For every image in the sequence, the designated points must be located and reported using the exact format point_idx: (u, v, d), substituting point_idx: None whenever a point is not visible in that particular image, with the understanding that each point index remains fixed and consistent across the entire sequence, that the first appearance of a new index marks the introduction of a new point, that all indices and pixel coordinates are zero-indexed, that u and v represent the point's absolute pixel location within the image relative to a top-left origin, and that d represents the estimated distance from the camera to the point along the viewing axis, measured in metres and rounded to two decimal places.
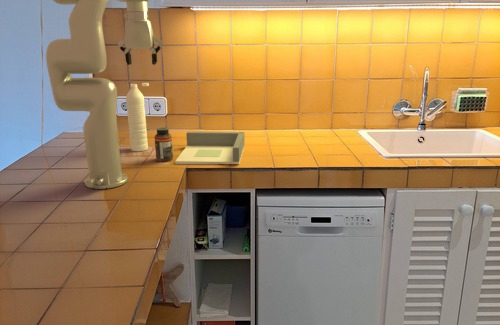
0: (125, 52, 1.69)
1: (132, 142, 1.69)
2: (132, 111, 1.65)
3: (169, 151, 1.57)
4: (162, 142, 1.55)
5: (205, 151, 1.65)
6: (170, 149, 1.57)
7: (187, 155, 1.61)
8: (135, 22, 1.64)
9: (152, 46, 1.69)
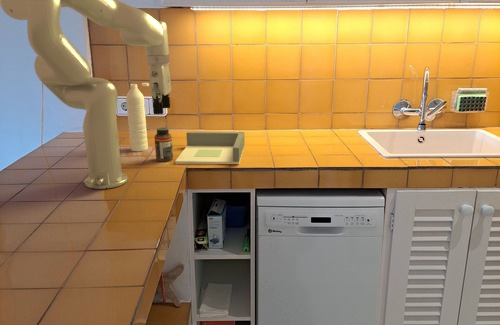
0: (160, 100, 1.48)
1: (132, 142, 1.69)
2: (132, 111, 1.65)
3: (169, 151, 1.57)
4: (162, 142, 1.55)
5: (205, 151, 1.65)
6: (170, 149, 1.57)
7: (187, 155, 1.61)
8: (166, 65, 1.50)
9: None
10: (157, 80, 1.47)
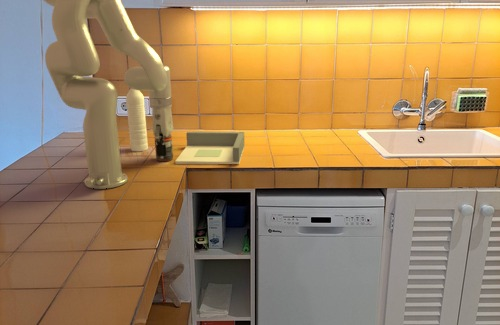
0: (163, 143, 1.54)
1: (132, 142, 1.69)
2: (132, 111, 1.65)
3: (170, 151, 1.57)
4: None
5: (205, 151, 1.65)
6: (170, 149, 1.57)
7: (187, 155, 1.61)
8: (168, 107, 1.54)
9: None
10: (159, 122, 1.51)
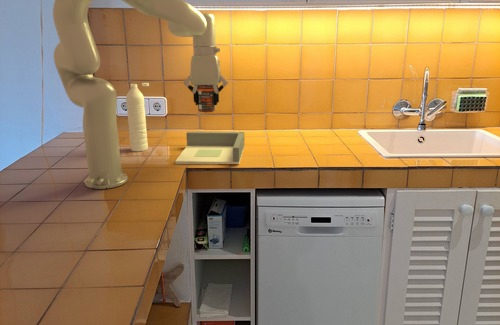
0: None
1: (132, 142, 1.69)
2: (132, 111, 1.65)
3: None
4: (214, 90, 1.57)
5: (205, 151, 1.65)
6: None
7: (187, 155, 1.61)
8: None
9: None
10: (219, 69, 1.54)
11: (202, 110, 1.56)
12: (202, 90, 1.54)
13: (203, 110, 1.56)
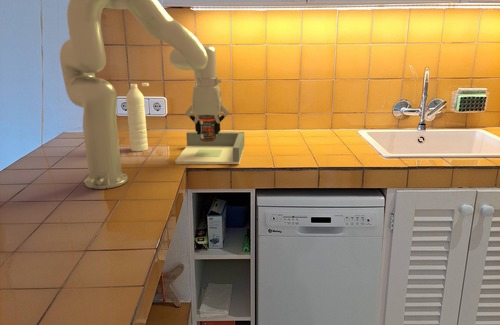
0: None
1: (132, 142, 1.69)
2: (132, 111, 1.65)
3: None
4: None
5: (205, 151, 1.65)
6: None
7: (187, 155, 1.61)
8: None
9: None
10: None
11: (204, 139, 1.59)
12: (203, 120, 1.57)
13: (205, 139, 1.59)
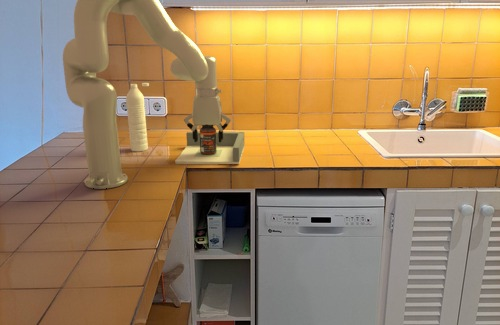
0: None
1: (132, 142, 1.69)
2: (132, 111, 1.65)
3: None
4: None
5: None
6: None
7: (187, 155, 1.61)
8: None
9: None
10: (221, 109, 1.59)
11: (204, 153, 1.60)
12: (204, 133, 1.58)
13: (205, 153, 1.60)
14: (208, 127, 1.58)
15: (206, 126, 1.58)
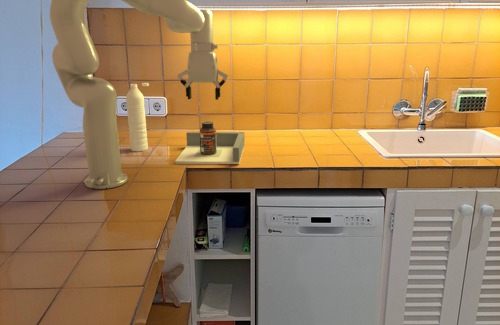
0: None
1: (132, 142, 1.69)
2: (132, 111, 1.65)
3: None
4: None
5: None
6: None
7: (187, 155, 1.61)
8: None
9: None
10: (217, 66, 1.54)
11: (204, 153, 1.60)
12: (204, 133, 1.58)
13: (205, 153, 1.60)
14: (208, 127, 1.58)
15: (206, 126, 1.58)
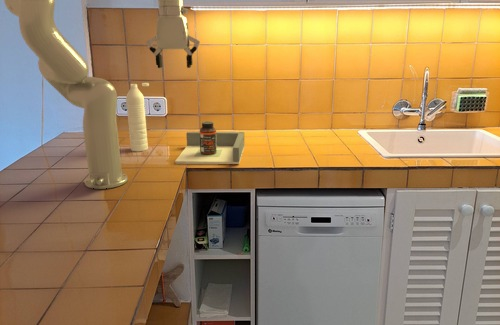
0: None
1: (132, 142, 1.69)
2: (132, 111, 1.65)
3: None
4: None
5: None
6: None
7: (187, 155, 1.61)
8: None
9: None
10: (188, 32, 1.45)
11: (204, 152, 1.60)
12: (204, 133, 1.58)
13: (205, 153, 1.60)
14: (208, 127, 1.58)
15: (206, 126, 1.58)
